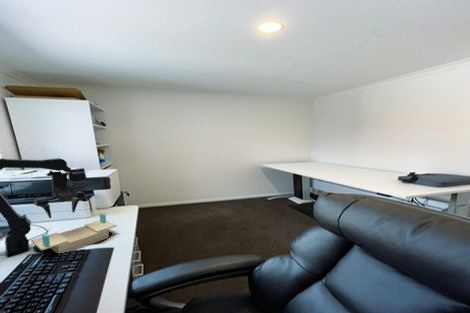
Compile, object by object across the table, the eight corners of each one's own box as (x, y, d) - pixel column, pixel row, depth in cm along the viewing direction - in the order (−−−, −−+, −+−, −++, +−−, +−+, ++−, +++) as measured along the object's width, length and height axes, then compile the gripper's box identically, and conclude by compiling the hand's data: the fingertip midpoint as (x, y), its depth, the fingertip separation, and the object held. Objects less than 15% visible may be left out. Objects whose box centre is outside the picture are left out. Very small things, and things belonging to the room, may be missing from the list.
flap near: (41, 250, 86) (40, 238, 85) (31, 241, 94) (30, 230, 94) (68, 241, 93) (68, 230, 93) (57, 233, 102) (56, 223, 101)
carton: (59, 255, 90) (58, 246, 90) (47, 245, 99) (46, 237, 99) (108, 237, 107) (108, 229, 106) (94, 230, 116) (94, 223, 116)
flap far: (97, 232, 103) (96, 222, 103) (84, 225, 111) (84, 216, 111) (116, 226, 110) (116, 216, 110) (103, 220, 119) (102, 211, 118)
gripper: (39, 189, 91) (42, 224, 92) (88, 182, 106) (90, 212, 107) (32, 186, 97) (34, 219, 98) (79, 180, 112) (81, 209, 113)
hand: (62, 215), depth 104 cm, fingers open, 9 cm apart
